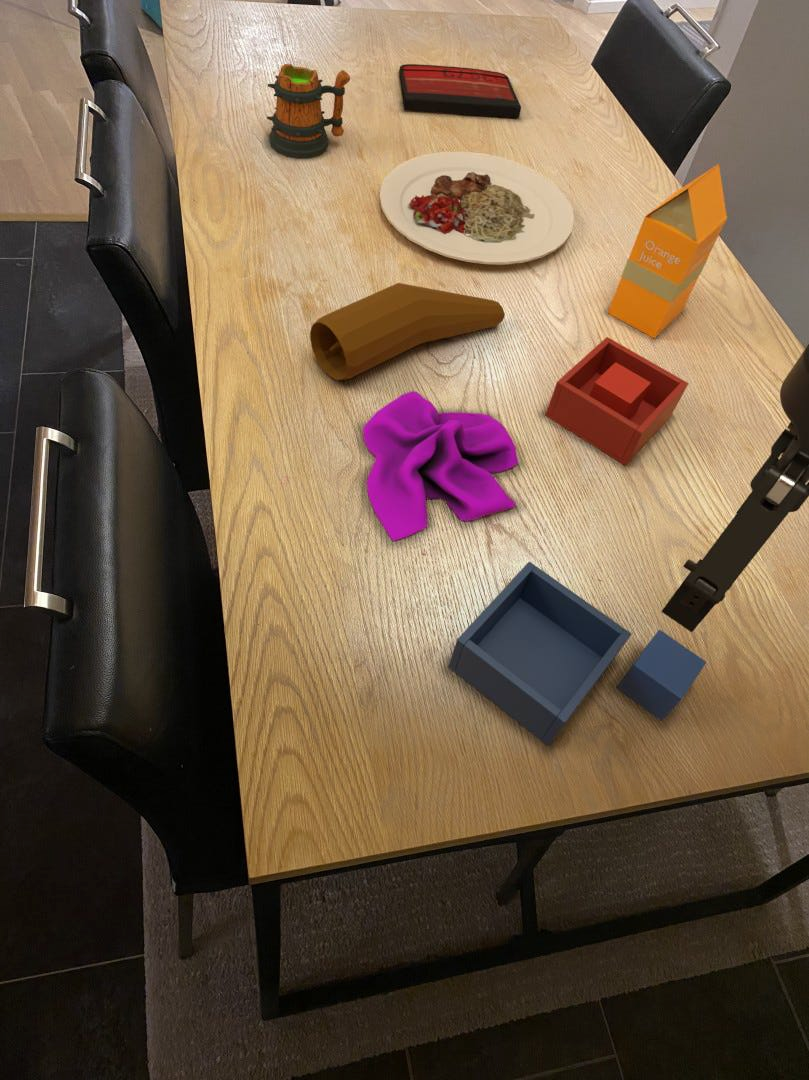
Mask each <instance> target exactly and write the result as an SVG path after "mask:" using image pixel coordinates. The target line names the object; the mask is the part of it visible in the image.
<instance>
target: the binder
mask: <svg viewBox="0 0 809 1080" xmlns="http://www.w3.org/2000/svg"><path fill="white" fill-rule="evenodd" d="M398 75H399V77H398V78H399V82H400V90H401V91H400V92H401V98H402V99H401V100H402V107H403V111H407V112H409V111H410V112H420V113H433V114H445V115H446V114H447V115H463V116H465V115H466V116H477V117H478V116H479V117H492V118H493V117H494V118H506V119H508V118H509V119H519V118H520V116H521V115H520V114H521V112H522V111H521V110H522V105H521V104H520V101H519V99H518V97H517V94H516V93H515V91H514V88H513V85H512V83H511V80H510V79H509V77H508V75H507V74H505V73H503V72H499V71H494V70H493V71H492V70H487V69H481V68H480V69H479V68H471V67H463V66H462V67H460V66H449V65H448V66H447V65H446V66H445V65H434V64H418V63H417V64H416V63H407V64H402V65H400V66H399V69H398Z"/></svg>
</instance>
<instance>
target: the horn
mask: <svg viewBox="0 0 809 1080" xmlns="http://www.w3.org/2000/svg"><path fill="white" fill-rule="evenodd" d="M505 317H506V312H505V311H504V308H503V306H502V305H501V304H500V303H499V302H498V301H496V300H493V299H489V298H483V297H478V296H472V295H466V294H461V293H456V292H451V291H445V290H440V289H434V288H428V287H423V286H419V285H418V286H417V285H412V284H407V283H401V282H397V283H395V284H393V285H391V286H387V287H385V288H384V289H380V290H379V291H377V292H374V293H372V294H370V295H368V296H365V297H363V298H361V299H358V300H357V301H353V302H352V303H350V304H347V305H345V306H342V307H341V308H339V309H336V310H334V311H332V312H329V313H327V314H325V315H323V316H321V317H319V318H317V320H316V321H315V322H314V323H313V324H312V325H311V328H310V332H309V340H310V344H311V349H312V352H313V354H314V357H315V359H316V361H317V363H318V364H319V366H320V367H321V369H322V370H323V371H324V372H325V373H326V375H328V376H329V377H330V378H332V379H334V380H337V381H342V380H349V379H352V378H353V377H356V376H358V375H359V374H361V373H364V372H366V371H368V370H370V369H371V368H374V367H376V366H378V365H380V364H382V363H384V362H386V361H388V360H390V359H391V358H394V357H396V356H398V355H400V354H402V353H404V352H406V351H408V350H410V349H412V348H414V347H416V346H419V345H422V344H426V343H430V342H434V341H438V340H443V339H447V338H450V337H456V336H459V335H463V334H468V333H472V332H477V331H481V330H485V329H489V328H494V327H496V326H498V325H499V324H500V323H502V322H503V321H504V319H505Z"/></svg>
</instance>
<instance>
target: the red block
mask: <svg viewBox="0 0 809 1080" xmlns="http://www.w3.org/2000/svg"><path fill="white" fill-rule="evenodd" d="M650 384H651V382H649V381H647V380H646V379H644V378H642V377H640V376H639V375H637V374H635V373H633V372H632V371H630V370H628V369H627V368H625V367H623V366H621V365H620V364H618V363H616V362H615V363H614V364H613V365H612V366H611V367H610V368H609V369H608V370H607V371H606V372H605V373H604V374H603V375H602V376H601V377H599V378H598V379H597V380H596V381H595V382H594V385H593V387H592V390H591V392H590V395H589V396H590V397H592V398H594V399H595V400H597V401H599V402H600V403H602V404H604V405H605V406H607V407H609V408H610V409H612V410H613V411H615V412H617V413H618V414H620V415H622V416H623V417H625V418H627V419H628V420H630V419H631V418H632V417H633V416H634V415H635V414H636V413H637V411H638V409H639V407H640V405H641V403H642V401H643V399H644V397H645V394H646V392H647V390H648V388H649V386H650Z"/></svg>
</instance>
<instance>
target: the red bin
mask: <svg viewBox="0 0 809 1080" xmlns="http://www.w3.org/2000/svg"><path fill="white" fill-rule="evenodd" d="M615 362H616V363H618V364H620V365H621V366H623V367H625V368H627V369H628V370H630V371H632V372H633V373H635V374H637V375H639V376H640V377H642V378H644V379H646V380H647V381H649V382H651V384H650V386H649V388H648V390H647V392H646V394H645V397H644V399H643V401H642V403H641V405H640V407H639V409H638V411H637V413H636V414H635V415H634V416H633V417H632V418H631V419H630V420H628V419H627V418H625V417H623V416H622V415H620V414H618V413H617V412H615V411H613V410H612V409H610V408H609V407H607V406H605V405H604V404H602V403H600V402H599V401H597V400H595V399H594V398H592V397H590V396H589V395H590V392H591V390H592V387H593V385H594V382H595V381H596V380H597V379H598V378H599V377H601V376H602V375H603V374H604V373H605V372H606V371H607V370H608V369H609V368H610V367H611V366H612V365H613V364H614V363H615ZM688 386H689V382H687V381H685V380H683V378H681V377H679V376H677V375H675V374H674V373H671V372H670V371H668V370H666V369H665V368H663V367H661V366H659V365H658V364H655V363H654V362H652V361H651V360H649V359H647V358H645V357H643V356H641V355H640V354H638V353H637V352H634V351H633V350H631V349H630V348H628V347H625V346H624V345H622V344H621V343H619V342H617V341H616V340H614V339H612V338H611V337H608V336H606V337H605V338H604V339H603V340H602V341H601V342H599V343H598V344H597V345H596V346H595V347H593V349H592V350H590V351H589V352H588V353H587V354H586V355H585V356H583V358H581V360H579V361H578V362H577V363H576V364H574V366H573V367H571V368H570V369H569V370H568V371H567V372H566V373H565V374H563V375H562V376H561V378H559V379H558V380H557V381H556V383H555V386H554V390H553V392H552V395H551V398H550V400H549V403H548V407H547V409H546V412H545V415H544V416H545V417H546V418H549V419H550V420H552V421H553V422H555V423H556V424H558V425H559V426H561V427H563V428H564V429H566V430H568V431H569V432H571V433H572V434H574V435H575V436H577V437H579V438H580V439H582V440H583V441H585V442H586V443H588V444H590V445H592V446H593V447H595V448H597V449H598V450H599V451H601V452H602V453H604V454H606V455H607V456H609V457H610V458H612V459H614V460H616V461H617V462H619V463H621V465H623V466H627V465H628V464H629V463H630V462H631V461H632V460H633V459H634V458H635V456H637V455H638V453H639V452H640V451H641V450H642V449H643V448H644V447H645V446H646V445H647V443H648V442H649V441H650V440H651V439H652V438H653V437H654V436H655V435H656V434H657V432H658V431H659V430H660V429H661V428H662V427H663V426H664V425H665V423H667V421H668V420H670V418H671V417H672V415H673V414H674V412H675V410H676V409H677V406H678V404H679V402H680V401H681V399H682V397H683V395H684V393H685V391H686V390H687V387H688Z"/></svg>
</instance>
